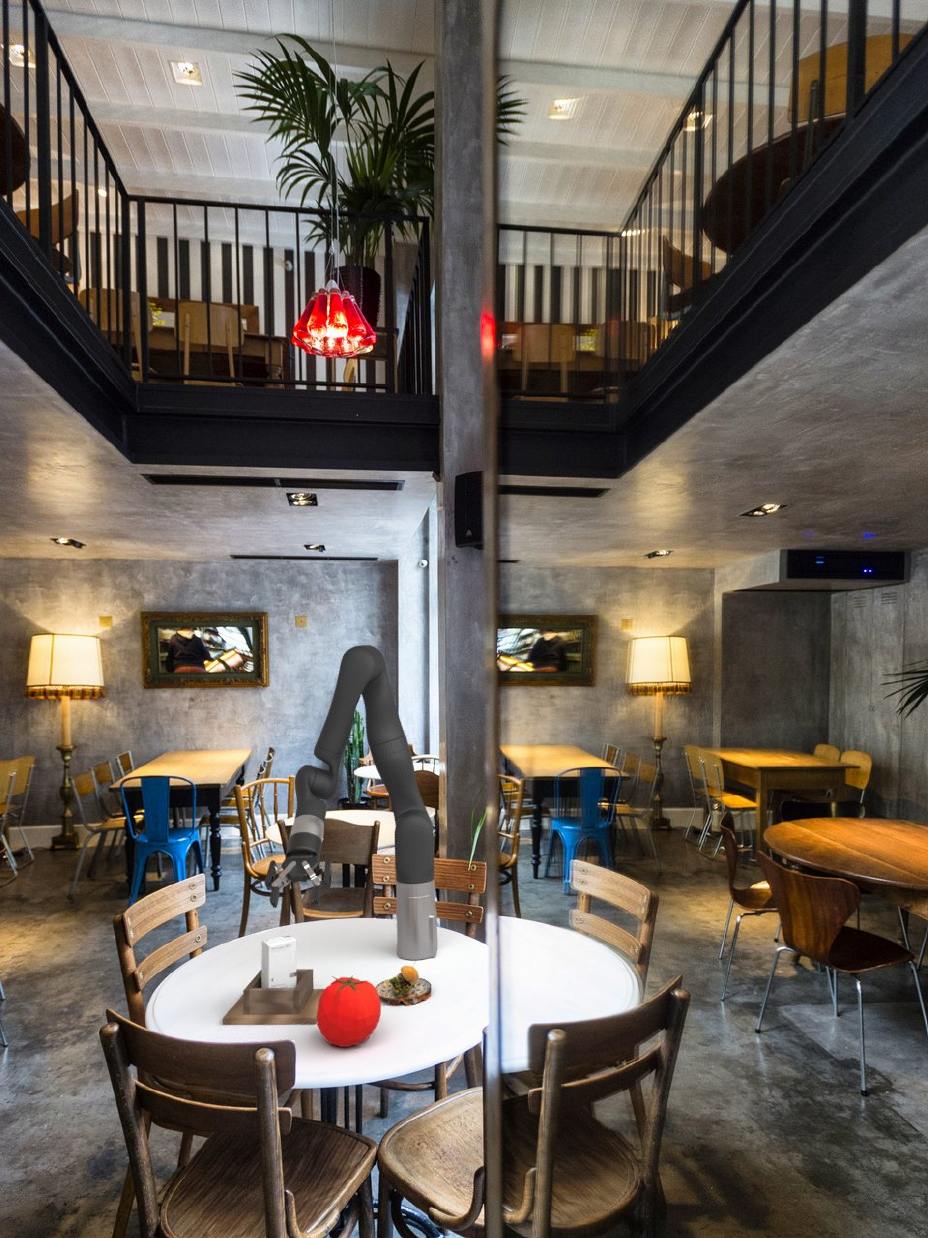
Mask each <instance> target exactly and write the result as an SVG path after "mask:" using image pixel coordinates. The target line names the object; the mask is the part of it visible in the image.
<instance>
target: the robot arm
mask: <svg viewBox="0 0 928 1238" xmlns="http://www.w3.org/2000/svg"><path fill="white" fill-rule="evenodd" d="M334 689H335V690H334V693H333V696H332V700H331V704H330V707H329V709H328V712H327V715H326V717H325V720H324V723H323V726H322V728H321V731H320V734H319V735H318V738H317V741H316V744H315V746H314V750H313V755H314V756H315V757H316V759H318V760H320V761H321V762H323V763H325V764H326V765H327V766H328V770H327V769H324V768H321V767H319V766H318V767H317V766H316V765H315V766H314V765H310V764H305V765H302V766H300V768H299V769H298V770H297V772H296V773H295V778H294V791H295V798H296V810H295V815H294V820H293V824H292V826H291V829H290V833H289V839H288V842H287V849H286V853H285V859H284V860H283V861H282V862H276V860H270V861H269V866H268V868H267V871H266V875H265V879H264V882H263V883H264V885H265V888H266V890H267V891H271V892H270V895H269V902H270V906H272V909H273V908H274V909H275V908H278V904H279V898H280V893H281V890H282V889H283V888H285V887H286V886H288V885H289V884H290V883H291V882H292V883H298V882H300V883H307V881H310V883H311V884H312V886H313V887H312V892H311V898H310V905H311V907H312V908H316V907H317V905H319V904H320V900H321V895H322V891H323V890H324V889H327V890H328V889H331V887H332V877H333V875H332V874H333V864H332V861H331V859H330V858H326V859H325V861H320V857H321V851H322V847H323V846H322V845H323V841H324V833H325V831H324V830H325V829H324V827H325V822H326V815H327V805H326V802H325V800H326V801H328V800H331V799H332V798H333V797H334V796H335V795H336V793H337V791H338V787H339V778H340V777H339V775H340V767H341V762H342V759H343V755H344V752H345V750H346V748H347V745H348V743H349V739H350V736H351V734H352V730H353V727H354V726H353V725H354V719H355V715H356V714H355V713H356V709H357V706H358V703H359V700H360V697H361V696H362V700H363V703H364V709H365V730H366V731H365V733H366V738H367V739H366V740H367V743H368V747H369V751H370V754H371V758H372V761H373V764H374V766H375V768H376V771H377V774H378V775H379V778H380V780H381V781H382V783H383V785H384V788H385V790H386V792H387V794H388V797H389V799H390V803H391V807H392V812H393V817H394V823H395V824H394V825H395V827H394V828H395V829H394V859H395V861H394V866H395V867H394V868H395V888H396V889H395V890H396V892H395V893H396V894H395V897H396V901H395V902H396V941H397V943H396V944H397V945H396V948H397V956H398V957H399V958H400V959H401V958H402V959H403V960H409V961H410V960H413V961H415V960H416V961H417V960H424V959H425V960H426V959H429V958H436V956H437V951H438V927H437V926H438V925H437V924H438V922H437V921H438V920H437V917H438V916H437V908H436V889H435V888H436V887H435V885H436V884H435V883H436V882H435V879H436V878H435V842H434V841H435V834H434V824H433V820H432V819H431V817H430V814H429V813H428V809H427V807H426V806H425V803H424V800H423V799H422V796H421V793H420V790H419V788H418V787H419V786H418V784H417V779H416V773H415V767H414V761H413V757H412V754H411V750H410V746H409V742H408V739H407V736H406V733H405V730H404V728H403V725H402V721H401V718H400V714H399V711H398V709H397V706H396V704H395V701H394V699H393V695H392V691H391V690H392V689H391V686H390V682H389V676H388V671H387V666H386V660H385V657H384V655H383V653H382V652H381V651H380V650H379V649H378V648H376V646H373V645H369V644H363V645H362V644H361V645H354V646H352V647H350V648H349V649H347V650H346V651H345V653H344V654H343V656H342V658H341V661H340V665H339V671H338V674H337V681H336V686H335V688H334ZM320 869H322V872H323V880H319V878H318V876H317V875H316V873H317V872H318V871H319V870H320ZM281 870H282V872H281V873H280V874H279V872H280V871H281ZM277 874H278V877H277ZM276 877H277V878H276Z"/></svg>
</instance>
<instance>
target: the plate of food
mask: <svg viewBox="0 0 928 1238" xmlns="http://www.w3.org/2000/svg"><path fill="white" fill-rule="evenodd" d="M416 961H417V960H414V963H413V964H412V966H411V965H403V966H402V967H401V968H400V972H399V973H397V974H396V976H393V977H392V978H390V979H385V980H383V981H381V982H378V984H377V985H376V986H375V988H376V990H377V992H378V995H379V998H383V999H385V1000H387V1004H388V1006H392V1007H400V1003H401V1002H403V1003H404V1004H405V1005H406V1006H408V1007H409V1006H412V1005H416V1004H417V1003H418V1002H419V1003H420V1002H421V1001H423V1002H425V1001H427V1000H429V999H430V997H431V995H432V990H433V989H432V983H431V982H430V981H429V980H427V979H425V978H422V977H420V976H419V975H420V974H419V972H418V970H416V968H415V967H414V965H415V964H416Z"/></svg>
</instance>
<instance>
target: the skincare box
mask: <svg viewBox="0 0 928 1238" xmlns="http://www.w3.org/2000/svg"><path fill="white" fill-rule="evenodd" d="M296 969H297V939H295V938H294V937H292V936H291V935H285V936H280V937H273V938H270V939H265V940H263V939H262V941H261V969H260V970H261V988H295V987H296Z"/></svg>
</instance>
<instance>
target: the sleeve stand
mask: <svg viewBox="0 0 928 1238" xmlns="http://www.w3.org/2000/svg"><path fill="white" fill-rule="evenodd" d="M324 989H325V988H314V968H313V969H311V968H309V969H308V968H305V969H304V968H302V969H301V968H300V969H297V968H296V987H295V988H261V969H260V970H259V971H258V972H257V973H256V975H255V976H254V977H253V978H252V979H251V981H250V982H249V984H247V986H245V988H244V989H243V990H242V994H241V996H240V997H239V998H238V999H237V1000H236V1002H235V1003H234V1004H233V1005H232V1007H231V1008H230V1009H229V1010H228V1011H227V1012H226V1014H225V1015H224V1016H223V1018H222V1025H223V1026H224V1025H226V1026H228V1025H229V1026H230V1025H231V1026H235V1025H240V1026H242V1025H244V1026H245V1025H246V1026H247V1025H248V1026H249V1025H250V1026H251V1025H252V1026H253V1025H257V1026H258V1025H262V1026H263V1025H264V1026H265V1025H272V1026H273V1025H275V1026H276V1025H316V1024H317V1011H318V1003H319V998H320V996H321V994H322V992H323V990H324Z"/></svg>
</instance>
